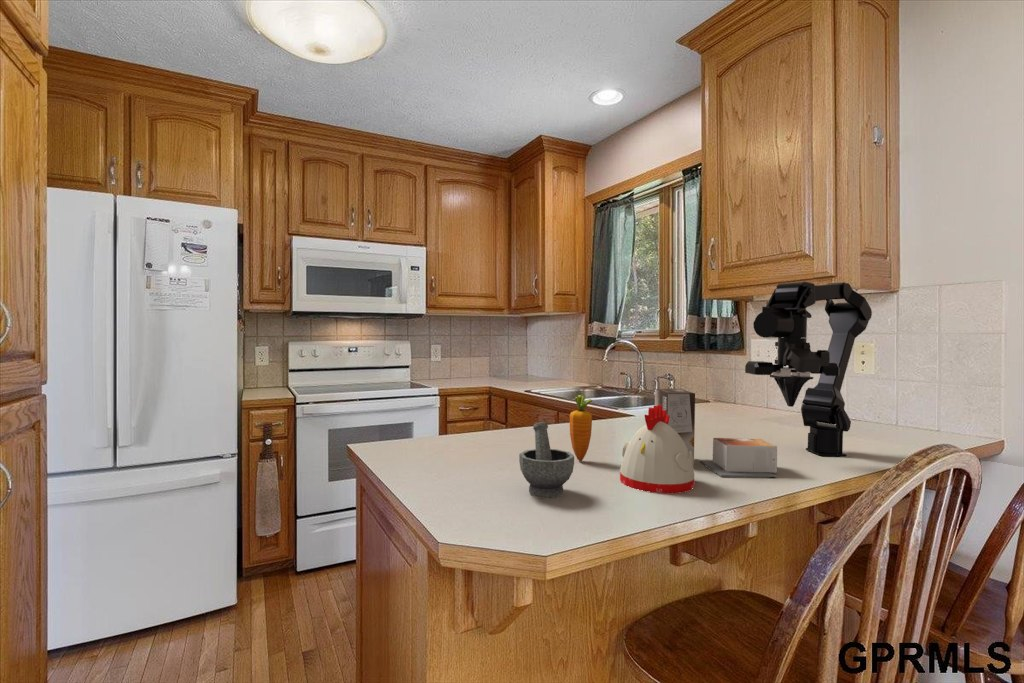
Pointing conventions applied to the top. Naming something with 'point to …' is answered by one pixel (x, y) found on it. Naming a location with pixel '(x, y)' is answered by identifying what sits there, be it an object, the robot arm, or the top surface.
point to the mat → (723, 473)
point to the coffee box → (679, 413)
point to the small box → (744, 455)
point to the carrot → (580, 428)
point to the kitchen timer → (657, 457)
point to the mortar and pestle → (545, 466)
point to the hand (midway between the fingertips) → (790, 406)
